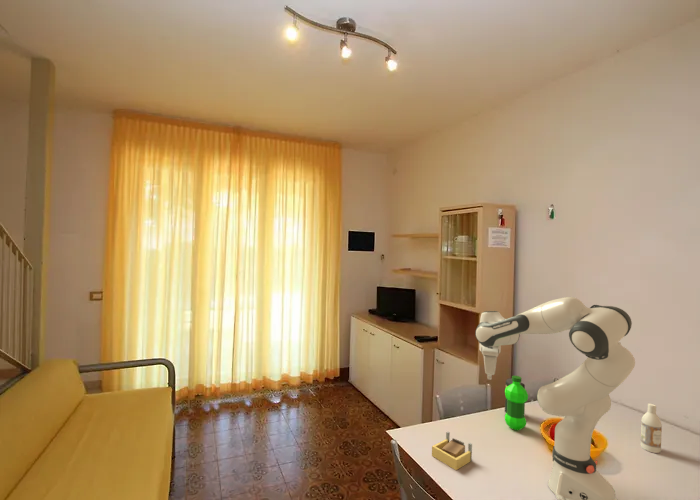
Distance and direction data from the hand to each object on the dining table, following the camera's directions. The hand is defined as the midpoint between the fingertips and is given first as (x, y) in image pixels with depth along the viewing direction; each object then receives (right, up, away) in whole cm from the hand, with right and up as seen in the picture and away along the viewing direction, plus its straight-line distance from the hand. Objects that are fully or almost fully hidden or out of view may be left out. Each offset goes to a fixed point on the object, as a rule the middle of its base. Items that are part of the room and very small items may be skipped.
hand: (489, 378), depth 156 cm
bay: (-19, -30, -9) cm, 36 cm away
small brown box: (-18, -30, -8) cm, 36 cm away
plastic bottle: (+20, -31, +18) cm, 41 cm away
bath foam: (+73, -33, +2) cm, 80 cm away
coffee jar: (+26, -31, +32) cm, 51 cm away
